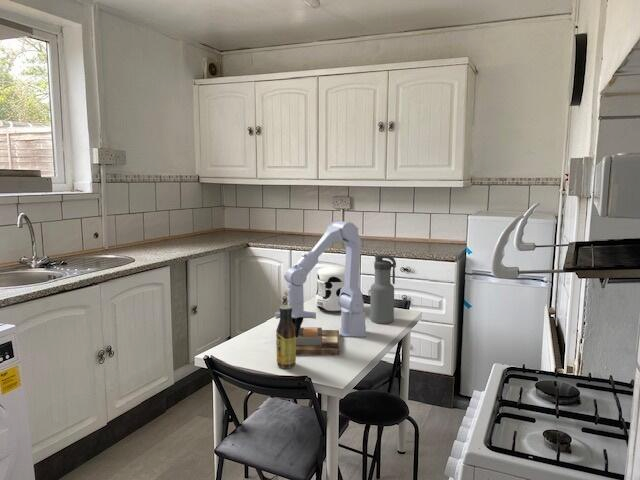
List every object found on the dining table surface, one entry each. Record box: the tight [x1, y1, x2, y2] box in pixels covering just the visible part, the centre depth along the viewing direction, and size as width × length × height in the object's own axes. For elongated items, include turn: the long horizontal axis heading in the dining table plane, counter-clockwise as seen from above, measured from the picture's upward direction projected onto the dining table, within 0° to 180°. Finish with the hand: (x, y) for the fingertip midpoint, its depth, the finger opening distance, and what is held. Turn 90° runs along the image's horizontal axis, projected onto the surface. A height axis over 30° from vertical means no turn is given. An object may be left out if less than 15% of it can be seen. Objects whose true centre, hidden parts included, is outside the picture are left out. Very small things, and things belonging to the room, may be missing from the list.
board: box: [296, 329, 341, 356], centre depth 174 cm, size 20×20×2 cm
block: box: [303, 328, 318, 337], centre depth 174 cm, size 5×5×4 cm
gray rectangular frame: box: [296, 326, 323, 345], centre depth 174 cm, size 14×12×2 cm
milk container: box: [315, 266, 345, 313], centre depth 216 cm, size 17×17×18 cm
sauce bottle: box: [275, 304, 297, 369], centre depth 154 cm, size 7×6×20 cm
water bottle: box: [369, 253, 397, 325], centre depth 199 cm, size 10×10×28 cm
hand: (296, 337), depth 174 cm, fingers closed
